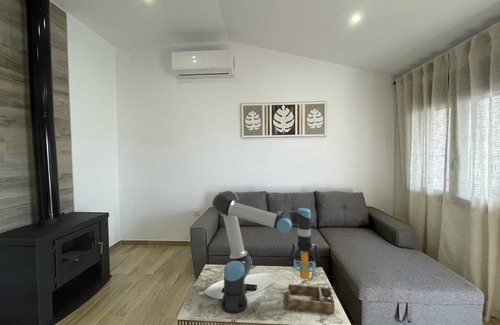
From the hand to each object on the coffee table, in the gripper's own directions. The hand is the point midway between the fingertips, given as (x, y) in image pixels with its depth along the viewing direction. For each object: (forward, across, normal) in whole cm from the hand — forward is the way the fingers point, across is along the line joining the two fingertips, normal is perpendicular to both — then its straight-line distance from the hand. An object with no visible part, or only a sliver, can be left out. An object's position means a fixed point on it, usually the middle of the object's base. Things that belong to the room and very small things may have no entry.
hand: (304, 272), depth 136 cm
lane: (+17, +3, 0) cm, 18 cm away
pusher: (+17, +12, 0) cm, 21 cm away
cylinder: (+3, 0, 0) cm, 3 cm away
